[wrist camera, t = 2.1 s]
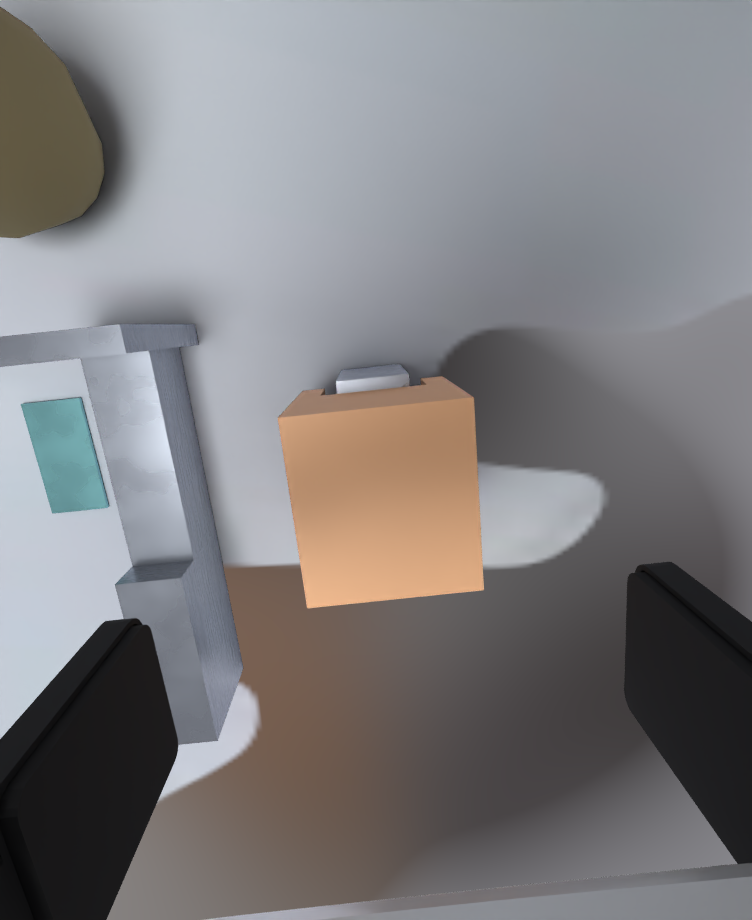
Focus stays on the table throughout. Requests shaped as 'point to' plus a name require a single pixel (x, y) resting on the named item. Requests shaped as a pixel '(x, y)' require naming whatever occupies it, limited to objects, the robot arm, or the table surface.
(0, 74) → the squeeze bottle
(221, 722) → the rail
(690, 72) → the table surface
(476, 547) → the block
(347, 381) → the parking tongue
